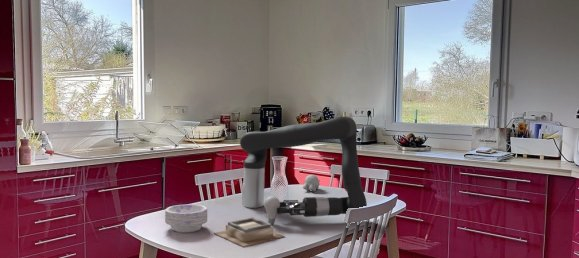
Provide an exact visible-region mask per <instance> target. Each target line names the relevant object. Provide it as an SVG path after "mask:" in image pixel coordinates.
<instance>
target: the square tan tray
mask: <svg viewBox="0 0 579 258" xmlns="http://www.w3.org/2000/svg"><path fill="white" fill-rule="evenodd" d="M213 234H214V235H215V236H217V237H220V238H223V239H225V240H226V241H228V242H231V243H233V244H235V245H237V246H239V245H240V246H239V247H241V246H242V248H245V247H251V246H254V245H258V244H263V243H267V242H271V241H274V240H278V239H282V238H285V237H286V236H285V235H283V234H280V233H279V232H275V231H274V226H272V225H271V224H270V223H268V222H267V221H263V220H260V219H258V218H255V217H249V218H244V219H239V220H234V221H228V222H227V224H225V230H221V231H217V232H214V233H213Z"/></svg>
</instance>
